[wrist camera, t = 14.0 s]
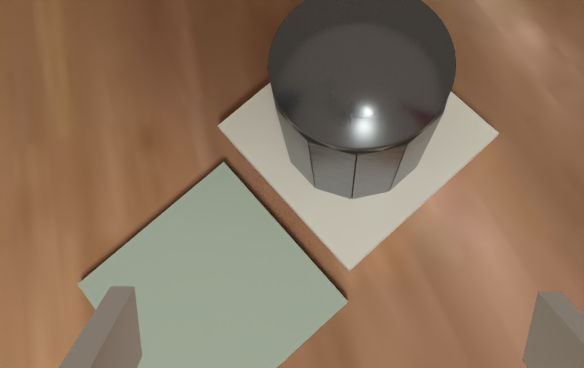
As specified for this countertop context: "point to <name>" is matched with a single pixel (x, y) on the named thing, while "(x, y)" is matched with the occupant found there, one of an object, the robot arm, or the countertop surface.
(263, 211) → the mat
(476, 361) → the countertop surface
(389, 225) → the board
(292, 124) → the grey ribbed cylinder
